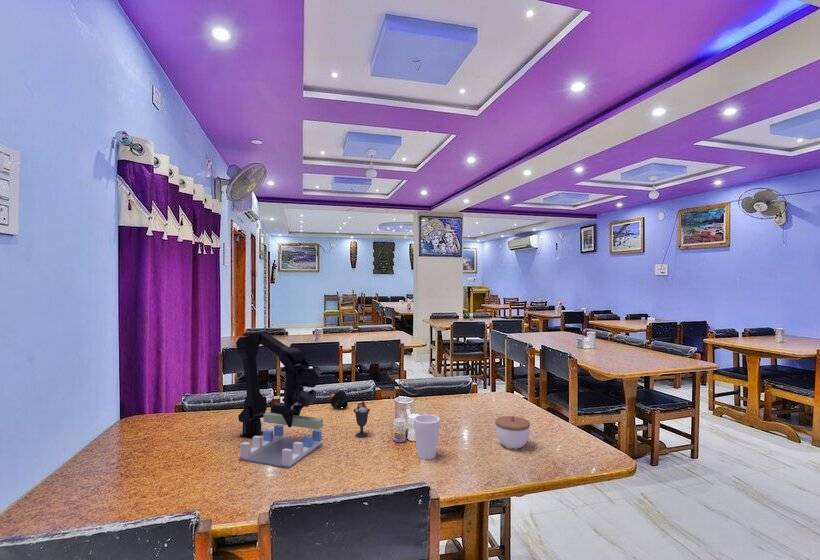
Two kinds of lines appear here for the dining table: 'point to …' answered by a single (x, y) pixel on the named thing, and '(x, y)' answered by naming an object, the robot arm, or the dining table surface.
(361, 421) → the sundae
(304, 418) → the green flat block
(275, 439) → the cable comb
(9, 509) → the dining table surface
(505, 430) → the lidded bowl
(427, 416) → the foam cup
